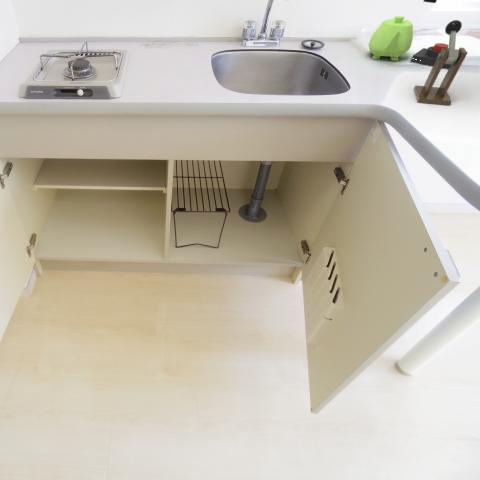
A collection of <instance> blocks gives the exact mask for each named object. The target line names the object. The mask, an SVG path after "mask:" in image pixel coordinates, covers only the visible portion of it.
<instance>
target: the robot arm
mask: <svg viewBox="0 0 480 480" xmlns="http://www.w3.org/2000/svg"><path fill="white" fill-rule="evenodd" d="M422 1H423V3H431V4H436V2H437V1H438V0H422Z"/></svg>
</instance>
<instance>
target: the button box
mask: <svg viewBox="0 0 480 480" xmlns="http://www.w3.org/2000/svg"><path fill="white" fill-rule="evenodd" d="M433 48H434V45H433V46H429V47H427V48H425V47H423V48H421V49H420V50H418V51H417V52H416V53H414V54H413V55H412V57H411V59H410V61H409V62H410V63H414V64H420V65H424V66H430V67H433V66H434V64H435V62H436V59H437V57H438V55H439V53H440V51H435V50H433ZM448 50H449V47H448ZM412 58H414V59H412ZM415 59H417V60H415ZM420 60H421V61H420ZM450 66H451V64H443V66H442V68H441V69H446V70H448V69H449V67H450Z"/></svg>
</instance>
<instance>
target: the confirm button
mask: <svg viewBox="0 0 480 480" xmlns="http://www.w3.org/2000/svg"><path fill="white" fill-rule="evenodd" d="M433 46H434V48H433V50H435V51H441V49H442V47H447V48H449V44H447V43H441V42H436V43H435V44H434V45H433Z"/></svg>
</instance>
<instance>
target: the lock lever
mask: <svg viewBox="0 0 480 480" xmlns="http://www.w3.org/2000/svg"><path fill="white" fill-rule="evenodd" d="M462 27H463V23H462V22H461V20H458V19H454V20H451V21H450V22H448V23H447V24H446V26H445V28H444V32H445V34H446V35H448V36H449V37H448V38H449V39H448V45H449V46H448V48H449V54H448V56H447V58H446V60H445V62H444V64H452V65H453V64H454V62H455V61H456V60H457V58H458V52H459V49H456V40H457V33H459V32H460V31H461V30H462Z"/></svg>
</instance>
